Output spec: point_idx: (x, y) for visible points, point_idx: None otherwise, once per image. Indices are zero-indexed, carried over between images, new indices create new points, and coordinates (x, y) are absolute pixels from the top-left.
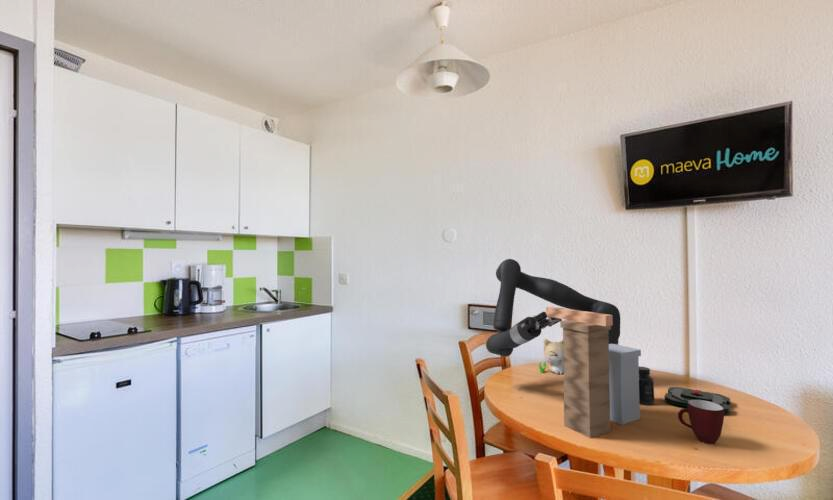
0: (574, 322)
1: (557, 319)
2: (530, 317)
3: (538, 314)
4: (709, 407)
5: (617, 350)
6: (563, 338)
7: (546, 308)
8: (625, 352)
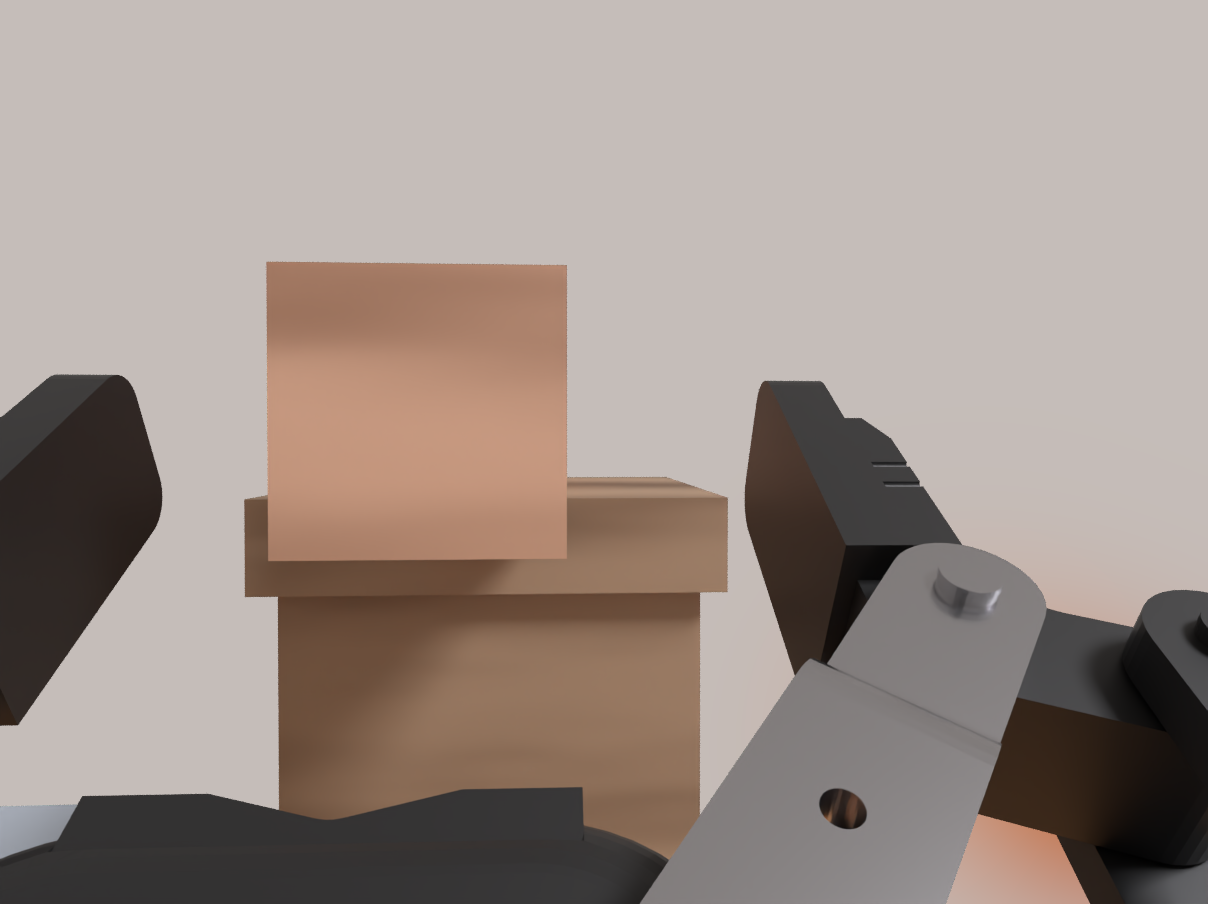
0: (645, 486)
1: (18, 716)
2: (1192, 615)
3: (881, 482)
4: None
5: (8, 850)
6: (697, 738)
7: (563, 305)
8: (76, 806)
